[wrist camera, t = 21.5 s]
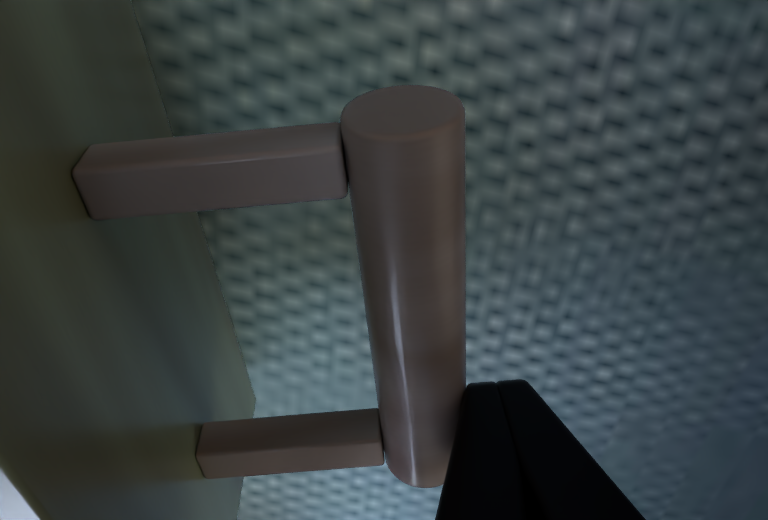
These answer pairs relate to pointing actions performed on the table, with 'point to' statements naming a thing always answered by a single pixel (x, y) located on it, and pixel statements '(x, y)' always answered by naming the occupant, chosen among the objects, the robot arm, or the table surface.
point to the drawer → (200, 280)
